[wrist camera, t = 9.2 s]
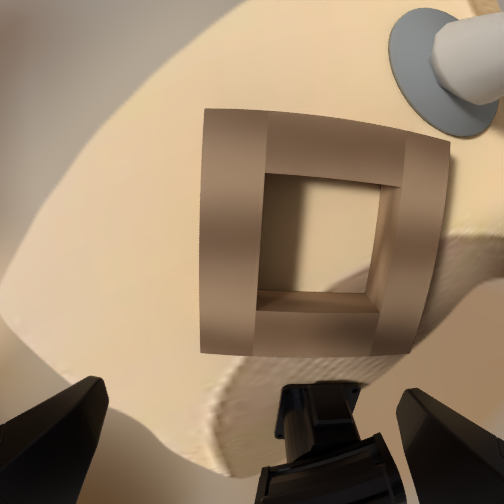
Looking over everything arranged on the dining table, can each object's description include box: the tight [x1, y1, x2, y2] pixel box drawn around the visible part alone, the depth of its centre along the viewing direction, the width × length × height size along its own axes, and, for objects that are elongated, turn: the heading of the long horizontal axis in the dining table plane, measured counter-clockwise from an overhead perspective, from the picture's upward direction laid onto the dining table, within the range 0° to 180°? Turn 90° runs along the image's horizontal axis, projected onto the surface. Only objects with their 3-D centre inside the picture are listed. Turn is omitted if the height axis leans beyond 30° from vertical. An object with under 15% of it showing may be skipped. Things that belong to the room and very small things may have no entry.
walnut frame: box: [199, 109, 450, 358], centre depth 18 cm, size 14×14×3 cm
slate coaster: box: [388, 8, 499, 136], centre depth 15 cm, size 10×10×1 cm
